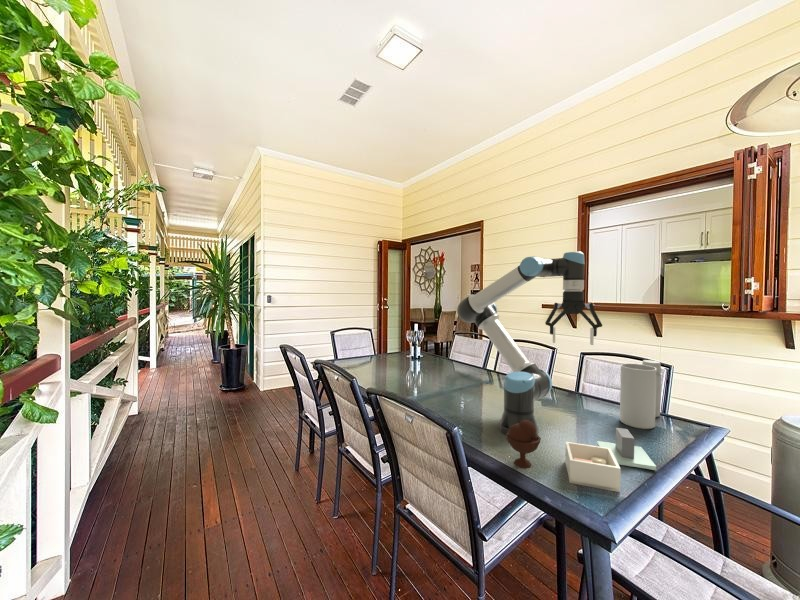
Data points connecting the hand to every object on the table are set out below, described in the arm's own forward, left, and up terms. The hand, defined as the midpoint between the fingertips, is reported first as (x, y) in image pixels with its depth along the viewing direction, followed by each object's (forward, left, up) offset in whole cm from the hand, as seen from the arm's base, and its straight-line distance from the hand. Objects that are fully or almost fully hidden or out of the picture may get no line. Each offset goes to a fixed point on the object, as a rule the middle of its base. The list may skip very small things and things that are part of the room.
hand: (572, 343), depth 133 cm
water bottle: (+36, +35, -37) cm, 62 cm away
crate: (+2, -32, -37) cm, 49 cm away
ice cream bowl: (-18, -32, -37) cm, 52 cm away
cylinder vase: (+28, +21, -37) cm, 51 cm away
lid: (+15, -15, -36) cm, 42 cm away
